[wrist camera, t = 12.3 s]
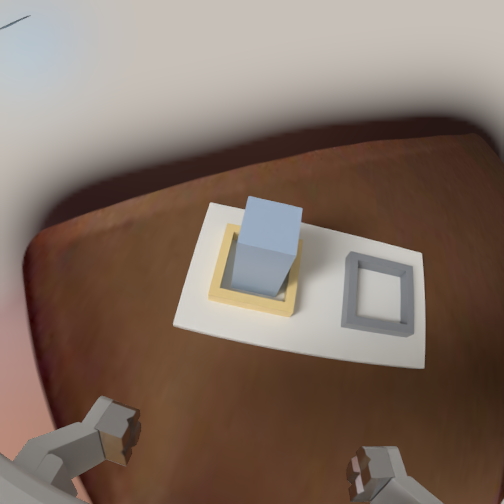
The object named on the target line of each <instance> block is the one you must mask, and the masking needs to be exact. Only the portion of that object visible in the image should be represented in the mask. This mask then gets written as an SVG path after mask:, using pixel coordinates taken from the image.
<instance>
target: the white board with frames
mask: <svg viewBox="0 0 504 504" xmlns="http://www.w3.org/2000/svg"><path fill="white" fill-rule="evenodd" d="M244 213H245V210H244V209H239V208H234V207H230V206H225V205H220V204H215V203H211V202H210V205H209V208H208V211H207V214H206V217H205V220H204V223H203V226H202V229H201V232H200V236H199V239H198V242H197V245H196V248H195V251H194V255H193V258H192V261H191V264H190V268H189V271H188V274H187V278H186V281H185V284H184V288H183V291H182V294H181V298H180V301H179V305H178V308H177V312H176V315H175V319H174V322H173V326H174V327H178V328H182V329H186V330H190V331H194V332H198V333H202V334H206V335H210V336H215V337H219V338H224V339H228V340H232V341H237V342H242V343H246V344H251V345H256V346H261V347H266V348H271V349H277V350H282V351H288V352H293V353H299V354H305V355H311V356H317V357H323V358H330V359H337V360H344V361H351V362H358V363H366V364H375V365H383V366H393V367H403V368H414V369H423V368H424V366H425V291H424V274H423V260H422V253H419V252H415V251H412V250H408V249H404V248H401V247H397V246H393V245H389V244H385V243H382V242H378V241H374V240H370V239H366V238H362V237H358V236H354V235H351V234H347V233H342V232H338V231H334V230H330V229H326V228H322V227H318V226H314V225H310V224H305V223H301V224H300V232H299V240H298V247H297V255H296V258H295V260H294V262H293V263H292V265H291V267H290V269H289V271H288V273H287V275H286V277H285V279H284V281H283V283H282V285H281V287H280V289H279V291H278V293H277V295H276V297H272V296H267V295H263V294H258V293H253V292H249V291H244V290H240V289H235V288H231V283H232V275H233V268H234V261H235V254H236V246H237V241H238V237H239V233H240V229H241V225H242V221H243V217H244Z"/></svg>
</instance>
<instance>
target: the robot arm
mask: <svg viewBox="0 0 504 504" xmlns="http://www.w3.org/2000/svg"><path fill="white" fill-rule="evenodd" d="M139 417H140V410H139V409H136V408H133V407H131V406H128V405H125V404H123V403H120V402H117V401H115V400H112V399H109V398H107V397H104V396H101V397H99V398H98V400H97V401H96V403H95V404H94V405H93V407H92V408H91V410H90V411H89V413H88V414H87V416H86V417H85V419H84V420H83V422H82V423H79V422H77V423H74V424H71V425H69V426H66V427H63V428H61V429H58V430H55V431H53V432H50V433H47V434H44V435H41V436H38V437H36V438H33V439H30V440H28V442H27V443H26V444H25V446H24V447H23V448H22V450H21V451H20V452H19V454H18V455H17V456H16V458H15V459H14V460H13V461H11V460H10V459H8V458H7V457H5V456H4V455H2V454H1V453H0V504H89V503H87V502H85V501H82V500H80V499H78V498H76V496H77V494H78V493H77V490H76V488H75V486H74V484H73V483H72V480H71V479H73V478H74V477H76V476H78V475H80V474H82V473H83V472H85V471H87V470H89V469H90V468H92V467H94V466H96V465H97V464H99V463H101V462H102V461H104V460H105V459H107V460H110V461H113V462H115V463H118V464H121V465H124V466H127V463H128V461H129V459H130V457H131V455H132V449H131V447H133V446H135V445H136V444H137V442H138V440H139V436H140V432H141V423H140V422H139V421H138V419H139ZM356 454H357V456H356V457H354V458H352V459H351V460H350V462H349V464H348V467H347V473H346V475H347V480H348V481H349V482H350V483H351V486H350V487H349V495H350V502H369V501H371V502H370V503H371V504H443V503H442V502H441V501H440V500H439V499H437V498H436V497H435V496H434V495H432V494H431V493H430V492H429V491H427V490H426V489H425V488H424V487H423V486H421V485H420V484H419V483H418V482H417V481H416V480H414V479H413V478H412V477H411V476H407V473H406V470H405V467H404V464H403V461H402V458H401V455H400V452H399V449H398V448H397V447H396V446H386V447H384V446H371V447H360V448H359V449H358V450H357V452H356Z"/></svg>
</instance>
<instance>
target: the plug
mask: <svg viewBox="0 0 504 504" xmlns="http://www.w3.org/2000/svg"><path fill="white" fill-rule="evenodd" d="M301 216H302V208H299V207H295V206H291V205H286V204H282V203H278V202H273V201H269V200H264V199H260V198H255V197H251V196H249V197H248V201H247V205H246V209H245V213H244V217H243V221H242V225H241V229H240V233H239V237H238V241H237V246H236V254H235V261H234V268H233V275H232V283H231V288H235V289H240V290H244V291H249V292H253V293H258V294H263V295H267V296H272V297H276V295H277V293H278V291H279V289H280V287H281V285H282V283H283V281H284V279H285V277H286V275H287V273H288V271H289V269H290V267H291V265H292V263H293V262H294V260H295V258H296V255H297V247H298V240H299V232H300V224H301Z"/></svg>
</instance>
